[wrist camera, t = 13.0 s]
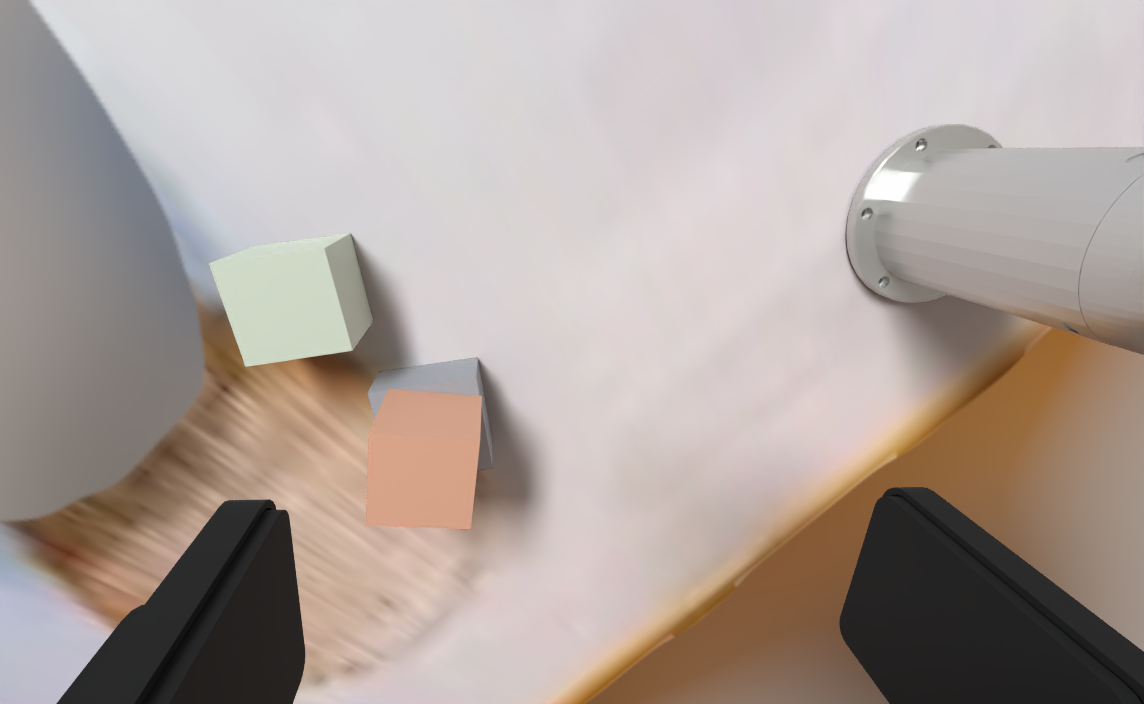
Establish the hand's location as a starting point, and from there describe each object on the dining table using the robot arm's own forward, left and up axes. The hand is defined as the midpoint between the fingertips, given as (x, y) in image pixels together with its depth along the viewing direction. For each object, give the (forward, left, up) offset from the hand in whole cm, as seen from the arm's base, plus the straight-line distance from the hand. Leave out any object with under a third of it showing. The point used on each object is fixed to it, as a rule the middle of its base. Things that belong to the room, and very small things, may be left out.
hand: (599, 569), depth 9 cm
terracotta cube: (+5, +12, -27) cm, 30 cm away
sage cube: (+13, +3, -30) cm, 33 cm away
